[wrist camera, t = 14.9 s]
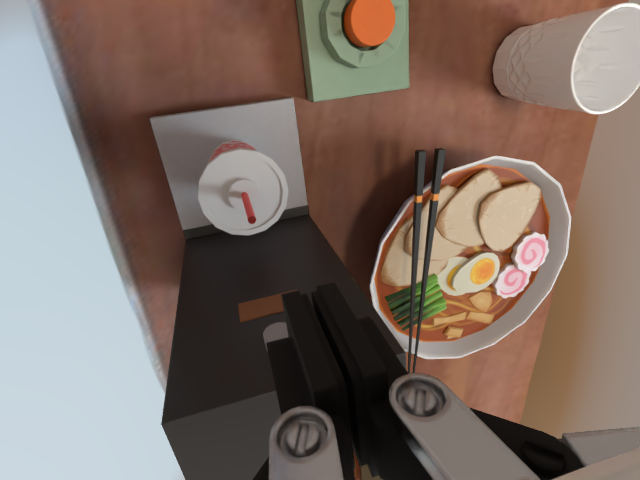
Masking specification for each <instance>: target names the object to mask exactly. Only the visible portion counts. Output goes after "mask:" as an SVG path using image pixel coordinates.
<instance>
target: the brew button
mask: <svg viewBox="0 0 640 480" xmlns="http://www.w3.org/2000/svg"><path fill="white" fill-rule="evenodd" d="M394 25H395V10H394V6H393V4H392V2H391V0H352V1H351V2H350V3H349V4H348V6H347V8H346V10H345V13H344V29H345V32H346V35H347V37H348V38H349V39H350V41H351V42H353V43H354V44H355V45H357V46H360V47H370V46H376V45H379V44H381V43H383V42H384V41H386V40H387V39H388V37H389V36H390V35H391V33H392V31H393V28H394Z"/></svg>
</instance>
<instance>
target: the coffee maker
mask: <svg viewBox="0 0 640 480" xmlns="http://www.w3.org/2000/svg"><path fill="white" fill-rule="evenodd" d="M150 122H151V126H152V129H153V132H154V136H155V139H156V142H157V146H158V149H159V153H160V156H161V159H162V163H163V166H164V169H165V173H166V176H167V179H168V183H169V186H170V189H171V193H172V196H173V199H174V203H175V206H176V209H177V213H178V216H179V219H180V223H181V226H182V229H183V233H184V236H185V239H186V244H185V251H184V259H183V266H182V274H181V281H180V289H179V296H178V304H177V311H176V319H175V326H174V334H173V341H172V349H171V356H170V364H169V371H168V379H167V386H166V394H165V401H164V409H163V416H162V427H163V429H164V431H165V434H166V436H167V438H168V440H169V443H170V445H171V447H172V450H173V452H174V454H175V457H176V459H177V461H178V463H179V466H180V468H181V470H182V472H183V475H184V477H185V480H253V478H254V477H255V475H256V474H257V473H258V471H259V470H260V468H261V467H262V465H263V464H264V463H265V461H266V460H267V458H268V457H269V438H270V432H271V429H272V427H273V425H274V423H275V421H276V420H277V419H278V418H279V417H280V416H281V411H280V407H279V402H278V397H277V392H276V388H275V383H274V378H273V373H272V368H271V364H270V359H269V354H268V349H267V345H266V343H267V342H271V341H275V340H279V339H283V338H286V337H288V331H287V325H286V320H285V314H284V309H283V303H282V297H281V294H284V293H289V292H293V291H297V290H299V292H300V294H305V293H307V295H308V298H309V300H310V302H311V304H312V297H311V292H313V291H317V286H318V285H322V284H327V283H331V282H335V284H336V285H337V287H338V289H339V290H340V292H341V294H342V295H343V297H344V299H345V300H346V302H347V304H348V305H349V307H350V309H351V310H352V312H353V314H354V315H355V317H356V319H360V318H363V317H367V316H369V317H371V319H372V320H373V321H374V323H375V324H376V326H377V327H378V329H379V330H380V332H381V333H382V335H383V336H384V338H385V339H386V341H387V342H388V344H389V345H390V347H391V348H392V350H393V351H394V353H395V354H396V356H397V357H398V359H399V360H400V362H401V363H402V365H403V366H404V368H405V369H406V352H405V351H404V349H403V348H402V347H401V345H400V344H399V342H398V341H397V339H396V338H395V337H394V335H393V334H392V332H391V331H390V330H389V328H388V327H387V325H386V324H385V322H384V321H383V320H382V318H381V317H380V315H379V314H378V312H377V311H376V310H375V308H374V307H373V305H372V304H371V302H370V301H369V300H368V298H367V297H366V295H365V294H364V292H363V291H362V290H361V288H360V287H359V285H358V284H357V282H356V281H355V280H354V278H353V277H352V275H351V274H350V272H349V271H348V270H347V268H346V267H345V265H344V264H343V263H342V261H341V260H340V258H339V257H338V255H337V254H336V253H335V251H334V250H333V248H332V247H331V245H330V244H329V243H328V241H327V240H326V238H325V237H324V235H323V234H322V233H321V231H320V230H319V228H318V227H317V225H316V224H315V223H314V221H313V220H312V218H311V217H310V215H309V210H308V202H307V195H306V188H305V180H304V173H303V165H302V158H301V151H300V143H299V136H298V128H297V121H296V114H295V106H294V99H293V98H291V97H288V98H281V99H274V100H267V101H260V102H253V103H246V104H239V105H232V106H225V107H218V108H211V109H204V110H198V111H191V112H184V113H177V114H170V115H163V116H156V117H151V118H150ZM229 140H241V141H245V142H246V143H248V144H250V145H252V146H253V147H254V148H255V149H257V150H258V151H259V152H261V153H263V154H265V155H266V156H268V157H270V158H272V159H273V160H274V161H275V163H276V164H277V165H278V167H279V168H280V169H281V171H282V172H283V173H284V175H285V178H286V182H287V186H288V190H289V191H288V198H287V205H286V208H285V209H284V211H283V213H282V214H281V216H280V218H279V219H278V221H277V222H275V223H274V224H273V225H271V226H270V227H269V228H268V229H266V230H265V231H262V232H259V233H255V234H252V235H233V234H230V233H227V232H225V231H223V230H221V229H219V228H216V227H215V226H214V225H213V224H212V223H211V222H210V221H209V219H208V218H207V217H206V216H205V215H204V213H203V211H202V208H201V205H200V203H199V200H198V191H199V180H200V177H201V175H202V173H203V171H204V169H205V168H206V166H207V164H208V163H209V160H210V157H211V155H212V153H213V151H214V150H215V148H216V147H218V146H219V145H220V144H221V143H223V142H226V141H229ZM312 307H313V304H312Z"/></svg>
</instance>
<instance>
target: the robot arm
mask: <svg viewBox="0 0 640 480" xmlns="http://www.w3.org/2000/svg"><path fill="white" fill-rule="evenodd" d="M281 297H282V303H283V309H284V314H285V320H286V325H287V331H288V337H286V338H283V339H279V340H275V341H271V342H267V343H266V345H267V349H268V354H269V359H270V364H271V368H272V373H273V378H274V383H275V388H276V392H277V397H278V402H279V407H280V411H281V416H280V417H279V418H278V419H277V420H276V421H275V423H274V425H273V427H272V429H271V432H270V438H269V457H268V458H267V460H266V461H265V463H264V464H263V465H262V467H261V468H260V470H259V471H258V473H257V474H256V475H255V477H254V478H253V480H355V478H354V469H355V464H354V454H353V450H354V452H355V455H356V457H357V460H358V462H359V465H360V466H364V465H367V466H368V468H369V471H370V473H371V476H372V477H375V476H378V475H379V477H380V479H383V480H640V427H631V428H620V429H608V430H597V431H586V432H575V433H564V434H563V435H562V439H557V438H555V437H553V436H551V435H549V434H547V433H544V432H542V431H538V430H535V429H532V428H529V427H526V426H523V425H520V424H517V423H514V422H511V421H508V420H505V419H502V418H499V417H496V416H493V415H490V414H487V413H484V412H481V411H478V410H475V409H472V408H469V407H467V406H466V405H465V404H464V403H463V402H462V401H461V400H460V399H459V398H458V397H457V396H456V395H455V394H454V393H453V392H452V391H451V390H450V389H449V388H448V387H447V386H446V385H445V384H444V383H443V382H441V381H440V380H439V379H437V378H435V377H433V376H430V375H427V374H422V373H410V374H408V372H407V371H406V369H405V368H404V366H403V365H402V363H401V362H400V360H399V359H398V357H397V356H396V354H395V353H394V351H393V350H392V348H391V347H390V345H389V344H388V342H387V341H386V339H385V338H384V336H383V335H382V333H381V332H380V330H379V329H378V327H377V326H376V324H375V323H374V321H373V320H372V319H371V317H369V316H367V317H363V318H360V319H356V317H355V315H354V314H353V312H352V310H351V309H350V307H349V305H348V304H347V302H346V300H345V299H344V297H343V295H342V294H341V292H340V290H339V289H338V287H337V285H336V284H335V282H331V283H327V284H322V285H318V286H317V291H313V292H311V297H312V304H313V307H312V304H311V302H310V300H309V298H308V295H307V293H305V294H300V292H299V290H297V291H293V292H289V293H284V294H281Z"/></svg>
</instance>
